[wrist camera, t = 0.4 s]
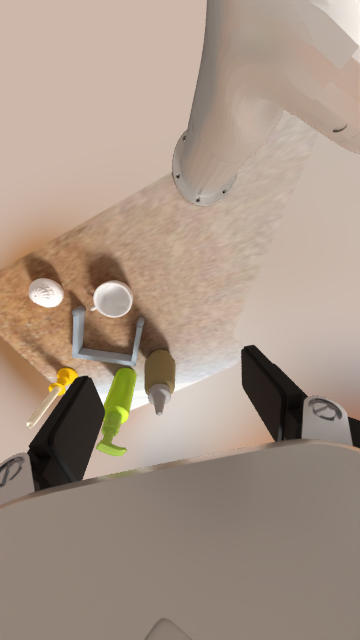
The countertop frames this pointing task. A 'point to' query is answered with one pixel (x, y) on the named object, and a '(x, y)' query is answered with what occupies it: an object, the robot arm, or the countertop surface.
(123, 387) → the soap dispenser
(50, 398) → the candle
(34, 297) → the muffin
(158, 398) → the squeeze bottle
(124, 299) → the teacup
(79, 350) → the bay
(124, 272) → the countertop surface
